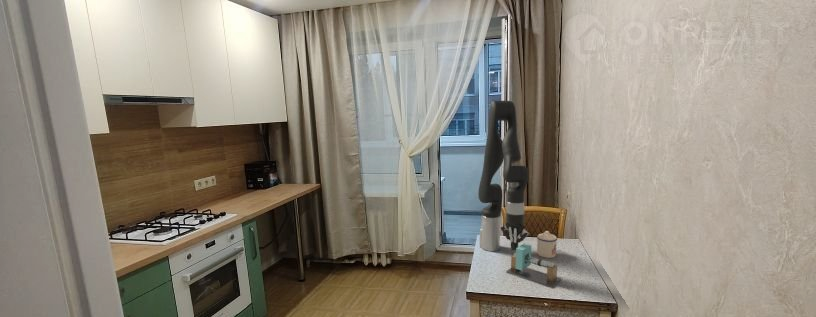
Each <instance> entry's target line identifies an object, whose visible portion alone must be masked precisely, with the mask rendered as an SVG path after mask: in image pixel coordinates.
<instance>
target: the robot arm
mask: <svg viewBox="0 0 816 317" xmlns="http://www.w3.org/2000/svg"><path fill="white" fill-rule="evenodd" d="M516 112H517V111H516V105H515V104H514V102H513V101H512V100H493V101H491V102H490V105H489V107H488V116H487V117H488V122H487V136H486V142H485V147H484V148H485V150H484V154H483V155H484V156H483V157H484V158H483V166H482V173H481V178H480V181H479V185H478V190H477V191H478V192H477V194H478V195H477V196H478V201H480V203H482V204H488V205H487V206H485V207H483V208H482V210H481V228H480V229H479V248H481V249H483V251H488V252H495V251H499V250H500V248H501V232H502V233H503V235H504V237H505V238H506V239H507V240H508V241H510V249H511V251H514V252H516V248H518V247H519V243H521V242H523V241H524V240H525V239H526V238H527V237H528V235H530V232H529V231H527V230H526V228H525V227H526V226H525V212H526V211H525V190H526V187H527V183H528V180H529V178H530V171H529V169H528V167H527V166H525V165H512V164H514V163H517V162H519V161H520V160H521V151H520V147H519V146H520V145H519V141H518V132H517V130H518V129H517V127H518V126H517V125H518V124H517V113H516ZM498 122H506V123H507V129H506V132H505V134H504V136H503V139H502V138H501V136H500V133H499V130H498ZM502 165H503V170H502V177H503V180H504V181H505V182H506V183H516V184H515V185H514V186H511V187H509V188H508V189H507V190H506V206H505V207H506V210H505V222H506V223H505V225H503V226H502V227H501V213H502V207H503V206H502V205H503V189H502V187H501V185H500V184H498V183H492V181H493V177H494V176H495V175H496V173H497V172H498V171H499V169H500V168H501V166H502Z"/></svg>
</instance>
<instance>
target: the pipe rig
mask: <svg viewBox="0 0 816 317" xmlns="http://www.w3.org/2000/svg"><path fill="white" fill-rule="evenodd" d="M525 261H526V262H529V263H531V264H533V265H535V266H538V267H543V268H545V269H546V272H543V271H538V270H537V269H534V268H530V267H527V268H525V269H524V270H519V269H516V251H514V253H513V255H511V257H510V268H508V269H507V270H506V273H507V274H510V275H512V276H515V277H518V278H521V279H524V280H527V281H529V282H532V283H536V284H540V285H542V286H545V287H547V288H551V289H553V288H554V287H555V286H556V285H557V284H559V283H560V281H562V278H561V277H559V276H558V265H557V264H555V263H553V262H551V261H547V260H544V259H541V258H537V257H533V256H531V257H530V256H527V255H525Z"/></svg>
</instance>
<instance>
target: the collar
mask: <svg viewBox="0 0 816 317" xmlns="http://www.w3.org/2000/svg"><path fill="white" fill-rule="evenodd" d="M515 252H516V269H519V270H524V269H525V268H529V267H530V266H531V265H532V263H529V262H526V261H525V255H527V256H530V257H532V244H530V243H523V244H521V245H518V248H516V251H515Z"/></svg>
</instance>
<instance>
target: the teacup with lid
mask: <svg viewBox="0 0 816 317" xmlns="http://www.w3.org/2000/svg"><path fill="white" fill-rule="evenodd" d="M536 238H537V241H536V242H537V243H536V244H537V245H536V253H537V255H538V256H539V257H542V258H546V259H552V258H555V257H556V256H557V240H558V238H557V236H556V235H555V234H552V233H550V231H548V230H545V231H544V232H543V233H539V234H538V235H537V236H536Z"/></svg>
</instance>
